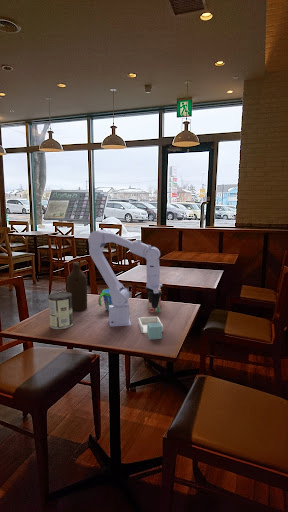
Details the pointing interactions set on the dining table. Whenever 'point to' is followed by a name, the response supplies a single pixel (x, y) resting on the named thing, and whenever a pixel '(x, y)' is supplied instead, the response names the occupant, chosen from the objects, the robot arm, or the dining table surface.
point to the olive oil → (77, 288)
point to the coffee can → (60, 310)
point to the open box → (145, 320)
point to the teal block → (154, 330)
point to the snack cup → (105, 299)
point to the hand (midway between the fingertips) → (153, 305)
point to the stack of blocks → (158, 309)
